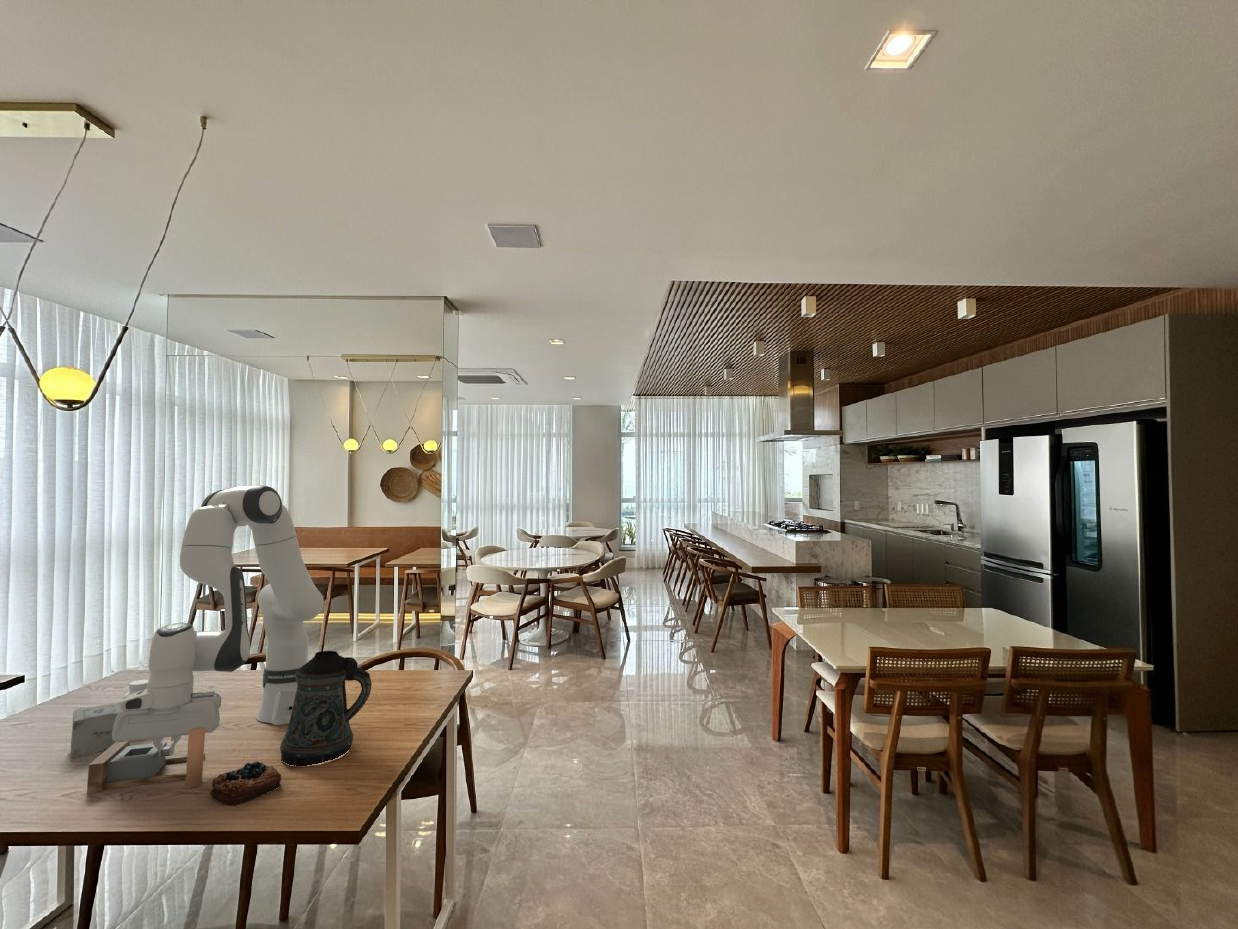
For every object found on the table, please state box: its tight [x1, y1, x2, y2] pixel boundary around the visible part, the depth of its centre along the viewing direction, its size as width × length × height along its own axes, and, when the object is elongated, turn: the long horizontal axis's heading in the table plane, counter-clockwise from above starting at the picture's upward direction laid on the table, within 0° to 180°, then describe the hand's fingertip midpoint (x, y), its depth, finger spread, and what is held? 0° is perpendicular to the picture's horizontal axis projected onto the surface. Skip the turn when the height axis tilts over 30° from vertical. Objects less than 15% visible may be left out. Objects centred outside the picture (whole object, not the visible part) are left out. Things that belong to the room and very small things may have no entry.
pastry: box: [209, 761, 282, 807], centre depth 129 cm, size 11×12×6 cm
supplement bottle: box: [123, 679, 149, 700], centre depth 163 cm, size 7×7×13 cm
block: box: [107, 741, 167, 783], centre depth 136 cm, size 8×9×5 cm
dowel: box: [185, 727, 206, 789], centre depth 131 cm, size 3×3×12 cm
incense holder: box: [69, 701, 122, 759], centre depth 149 cm, size 10×8×10 cm
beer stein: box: [279, 650, 372, 766], centre depth 150 cm, size 16×19×25 cm
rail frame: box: [86, 741, 206, 794], centre depth 136 cm, size 18×14×6 cm
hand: (166, 755), depth 137 cm, fingers closed
